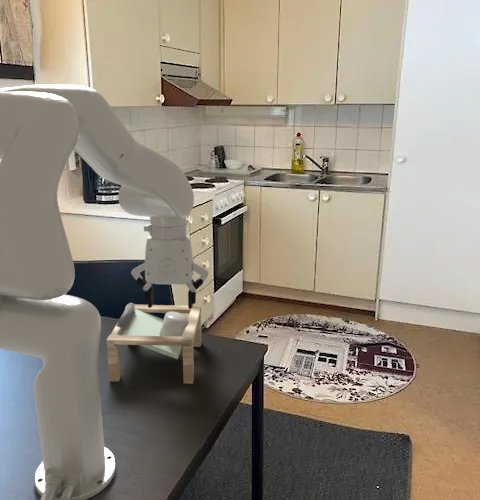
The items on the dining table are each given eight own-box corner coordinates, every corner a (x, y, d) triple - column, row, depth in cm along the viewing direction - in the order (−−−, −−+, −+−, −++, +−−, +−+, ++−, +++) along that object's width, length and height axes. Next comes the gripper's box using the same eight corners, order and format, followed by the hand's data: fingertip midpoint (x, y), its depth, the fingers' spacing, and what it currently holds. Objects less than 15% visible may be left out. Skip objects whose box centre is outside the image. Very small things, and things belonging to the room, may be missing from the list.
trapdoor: (177, 359, 108) (182, 347, 107) (111, 335, 107) (116, 322, 106) (185, 331, 121) (189, 320, 120) (126, 309, 119) (130, 298, 118)
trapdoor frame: (192, 383, 107) (192, 342, 104) (109, 381, 108) (106, 339, 105) (201, 342, 124) (200, 306, 121) (129, 340, 125) (127, 304, 122)
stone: (179, 345, 111) (186, 326, 110) (157, 338, 111) (163, 319, 109) (182, 334, 116) (189, 315, 115) (161, 327, 116) (167, 309, 114)
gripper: (123, 235, 103) (128, 312, 108) (207, 237, 102) (208, 314, 108) (132, 225, 110) (136, 298, 115) (210, 227, 110) (211, 300, 115)
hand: (170, 305), depth 112 cm, fingers open, 8 cm apart
